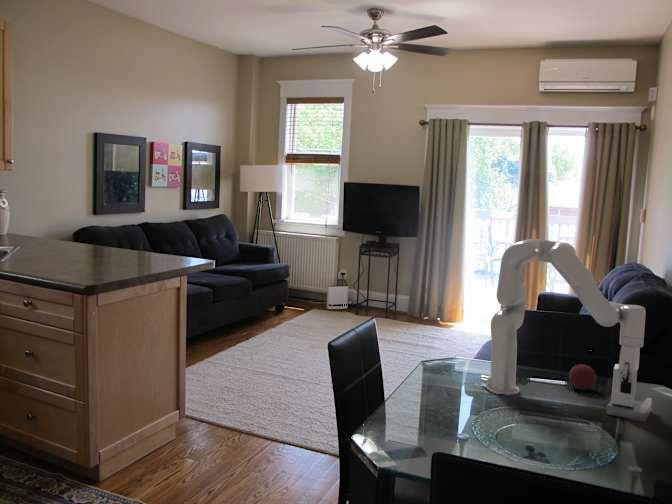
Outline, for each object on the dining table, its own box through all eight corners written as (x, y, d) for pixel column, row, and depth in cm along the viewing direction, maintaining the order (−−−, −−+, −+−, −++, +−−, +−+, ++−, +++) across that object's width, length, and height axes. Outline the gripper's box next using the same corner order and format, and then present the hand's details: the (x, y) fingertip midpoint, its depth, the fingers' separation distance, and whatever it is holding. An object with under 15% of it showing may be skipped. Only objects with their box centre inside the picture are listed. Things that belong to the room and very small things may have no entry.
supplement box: (633, 407, 204) (636, 371, 203) (610, 403, 208) (613, 368, 206) (635, 401, 211) (637, 366, 209) (612, 397, 214) (614, 363, 213)
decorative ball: (568, 384, 240) (570, 359, 239) (595, 387, 236) (597, 363, 235) (567, 391, 231) (568, 366, 230) (595, 395, 226) (596, 369, 225)
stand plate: (606, 413, 207) (607, 400, 207) (614, 404, 217) (615, 391, 216) (644, 422, 200) (645, 407, 200) (650, 412, 210) (651, 398, 209)
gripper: (625, 334, 215) (621, 381, 217) (614, 343, 202) (610, 394, 203) (648, 337, 211) (644, 385, 213) (638, 347, 197) (634, 398, 199)
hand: (628, 389), depth 208 cm, fingers closed on supplement box, 7 cm apart
